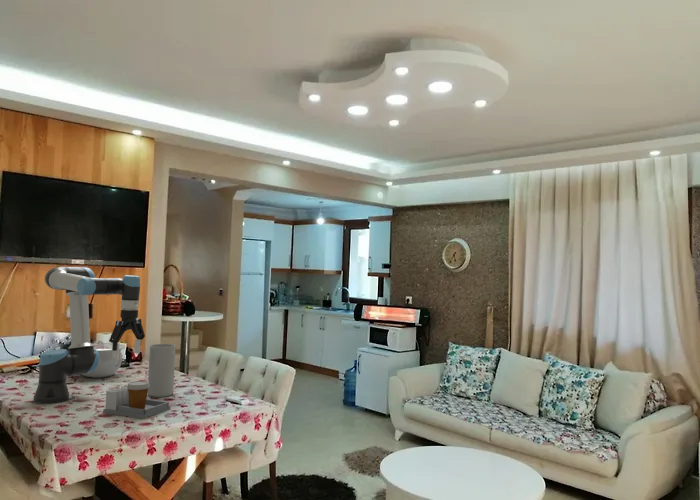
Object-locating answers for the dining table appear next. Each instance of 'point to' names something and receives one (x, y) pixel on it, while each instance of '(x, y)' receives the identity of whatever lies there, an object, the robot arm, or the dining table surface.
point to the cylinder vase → (161, 370)
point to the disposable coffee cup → (138, 394)
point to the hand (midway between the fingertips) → (126, 355)
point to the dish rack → (120, 406)
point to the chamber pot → (106, 360)
